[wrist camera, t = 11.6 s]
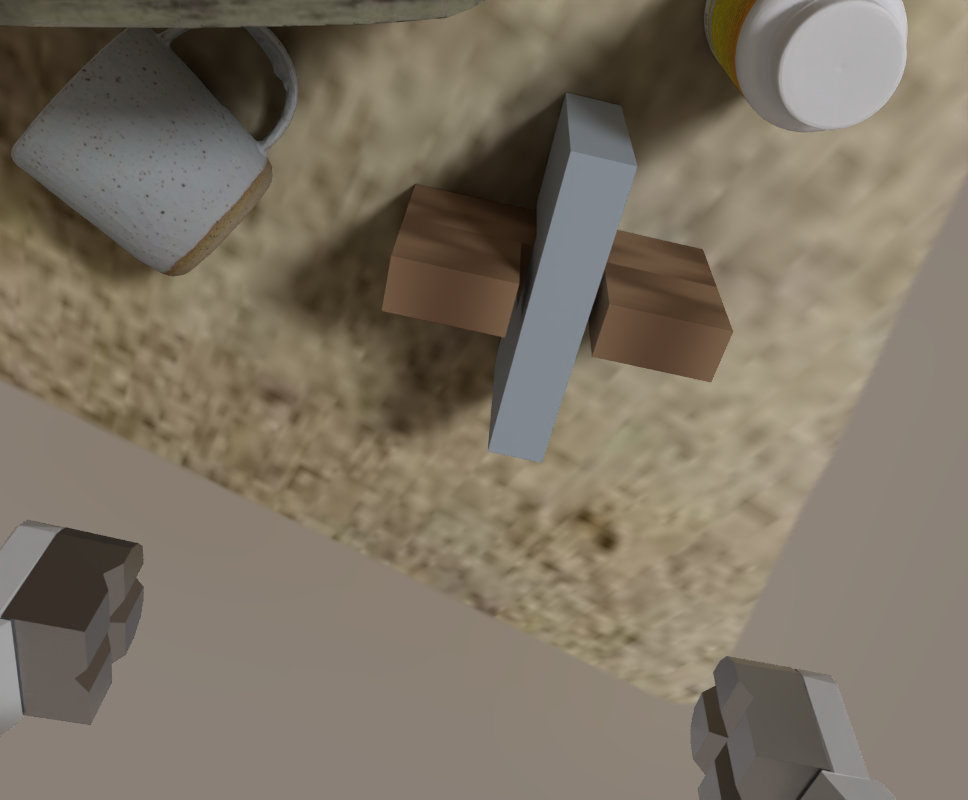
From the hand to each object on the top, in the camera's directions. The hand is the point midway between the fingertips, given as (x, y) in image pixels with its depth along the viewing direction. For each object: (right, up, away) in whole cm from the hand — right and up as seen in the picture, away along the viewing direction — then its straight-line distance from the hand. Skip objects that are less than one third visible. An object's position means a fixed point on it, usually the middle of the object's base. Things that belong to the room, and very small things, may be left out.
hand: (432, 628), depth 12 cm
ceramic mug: (-12, +17, +28) cm, 34 cm away
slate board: (+4, +11, +30) cm, 32 cm away
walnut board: (+4, +11, +30) cm, 32 cm away
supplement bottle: (+12, +19, +24) cm, 33 cm away
